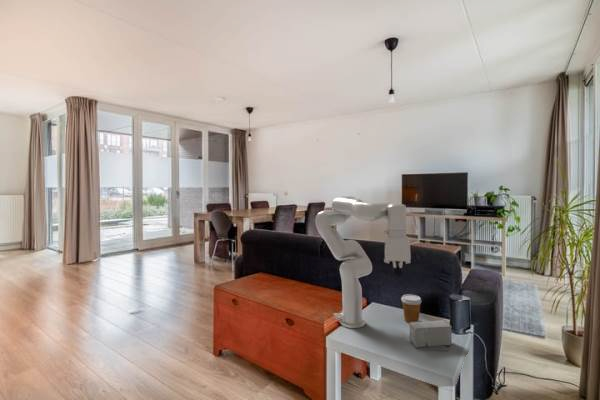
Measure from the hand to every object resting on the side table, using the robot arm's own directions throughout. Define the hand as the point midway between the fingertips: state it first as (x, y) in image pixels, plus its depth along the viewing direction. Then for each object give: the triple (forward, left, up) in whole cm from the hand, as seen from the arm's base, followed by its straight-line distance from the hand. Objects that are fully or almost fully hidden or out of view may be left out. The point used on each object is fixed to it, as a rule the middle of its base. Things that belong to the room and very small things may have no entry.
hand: (397, 276), depth 128 cm
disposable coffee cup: (+10, +23, -29) cm, 39 cm away
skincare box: (+5, 0, -25) cm, 25 cm away
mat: (+13, +2, -29) cm, 32 cm away
